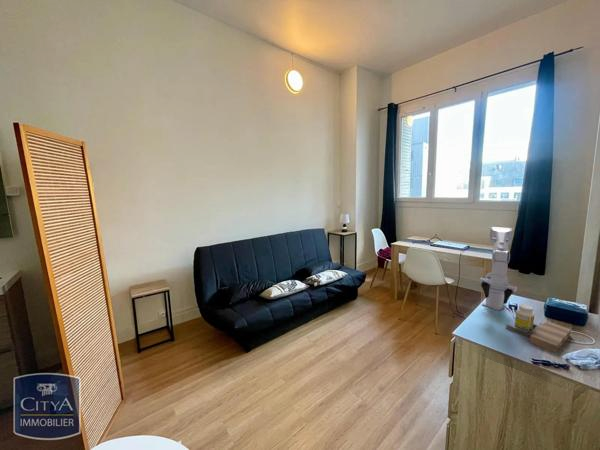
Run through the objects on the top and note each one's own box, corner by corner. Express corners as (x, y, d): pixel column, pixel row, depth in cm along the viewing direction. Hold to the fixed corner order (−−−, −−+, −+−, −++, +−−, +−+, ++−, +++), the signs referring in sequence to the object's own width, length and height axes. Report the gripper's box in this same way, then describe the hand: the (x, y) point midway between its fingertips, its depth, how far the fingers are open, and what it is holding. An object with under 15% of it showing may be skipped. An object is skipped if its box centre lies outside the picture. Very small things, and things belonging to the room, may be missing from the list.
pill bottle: (525, 325, 117) (528, 303, 115) (535, 333, 111) (539, 310, 109) (511, 324, 118) (513, 303, 116) (520, 332, 112) (523, 309, 110)
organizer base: (519, 318, 123) (520, 312, 123) (570, 335, 108) (571, 329, 108) (502, 331, 113) (503, 325, 112) (555, 352, 98) (556, 345, 98)
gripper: (478, 271, 124) (475, 296, 127) (514, 280, 112) (510, 308, 114) (484, 268, 128) (481, 293, 130) (520, 277, 116) (516, 304, 118)
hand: (495, 300), depth 123 cm, fingers open, 7 cm apart
